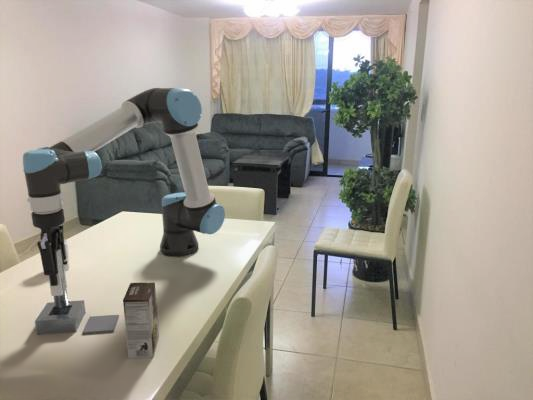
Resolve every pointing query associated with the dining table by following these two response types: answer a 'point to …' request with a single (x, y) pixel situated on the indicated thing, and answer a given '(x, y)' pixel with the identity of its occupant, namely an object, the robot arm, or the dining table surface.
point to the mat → (100, 324)
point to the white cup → (66, 255)
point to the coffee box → (141, 320)
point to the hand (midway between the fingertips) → (59, 291)
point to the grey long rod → (61, 299)
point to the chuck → (60, 318)
